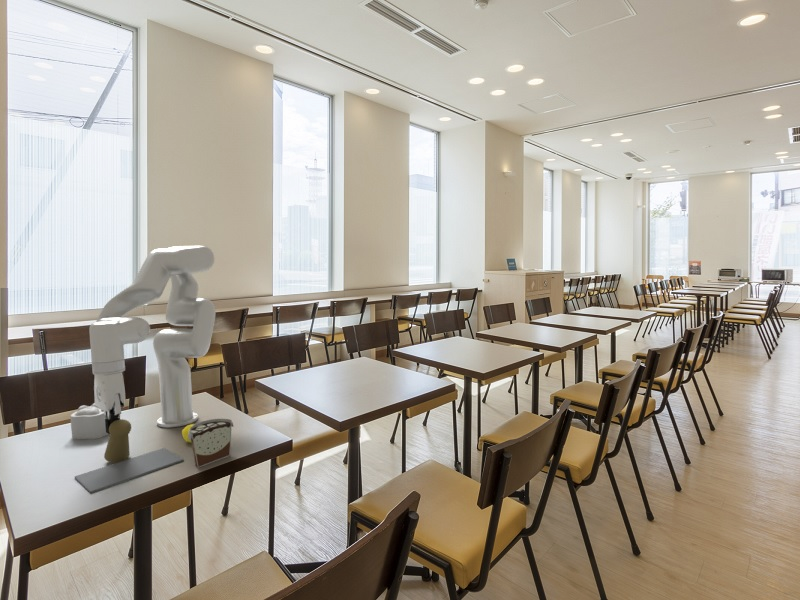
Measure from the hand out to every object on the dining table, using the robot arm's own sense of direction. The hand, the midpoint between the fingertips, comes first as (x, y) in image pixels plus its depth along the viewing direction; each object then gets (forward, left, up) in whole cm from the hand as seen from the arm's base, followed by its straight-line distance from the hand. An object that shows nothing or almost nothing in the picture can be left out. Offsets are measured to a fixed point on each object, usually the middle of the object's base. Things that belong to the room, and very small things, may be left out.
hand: (113, 431), depth 127 cm
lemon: (+6, +19, -8) cm, 22 cm away
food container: (+21, +16, -8) cm, 27 cm away
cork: (+1, 0, -7) cm, 7 cm away
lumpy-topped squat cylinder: (-28, +4, -8) cm, 29 cm away
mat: (+11, 0, -8) cm, 13 cm away
